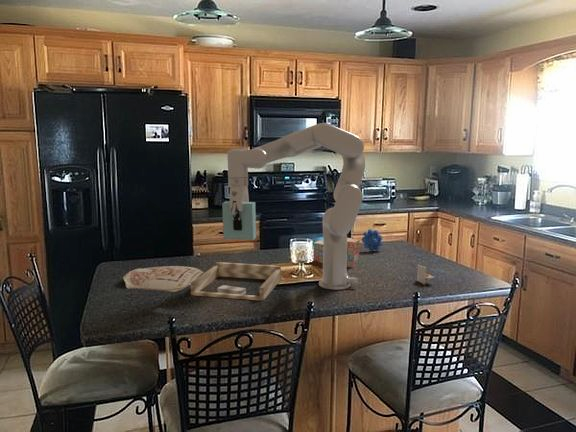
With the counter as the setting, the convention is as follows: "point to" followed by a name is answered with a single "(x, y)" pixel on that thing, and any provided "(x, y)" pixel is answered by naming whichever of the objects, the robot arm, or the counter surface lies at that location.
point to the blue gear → (372, 240)
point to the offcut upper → (231, 290)
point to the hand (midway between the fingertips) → (239, 228)
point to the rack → (240, 271)
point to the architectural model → (422, 274)
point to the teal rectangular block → (247, 222)
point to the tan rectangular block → (351, 252)
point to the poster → (162, 278)
